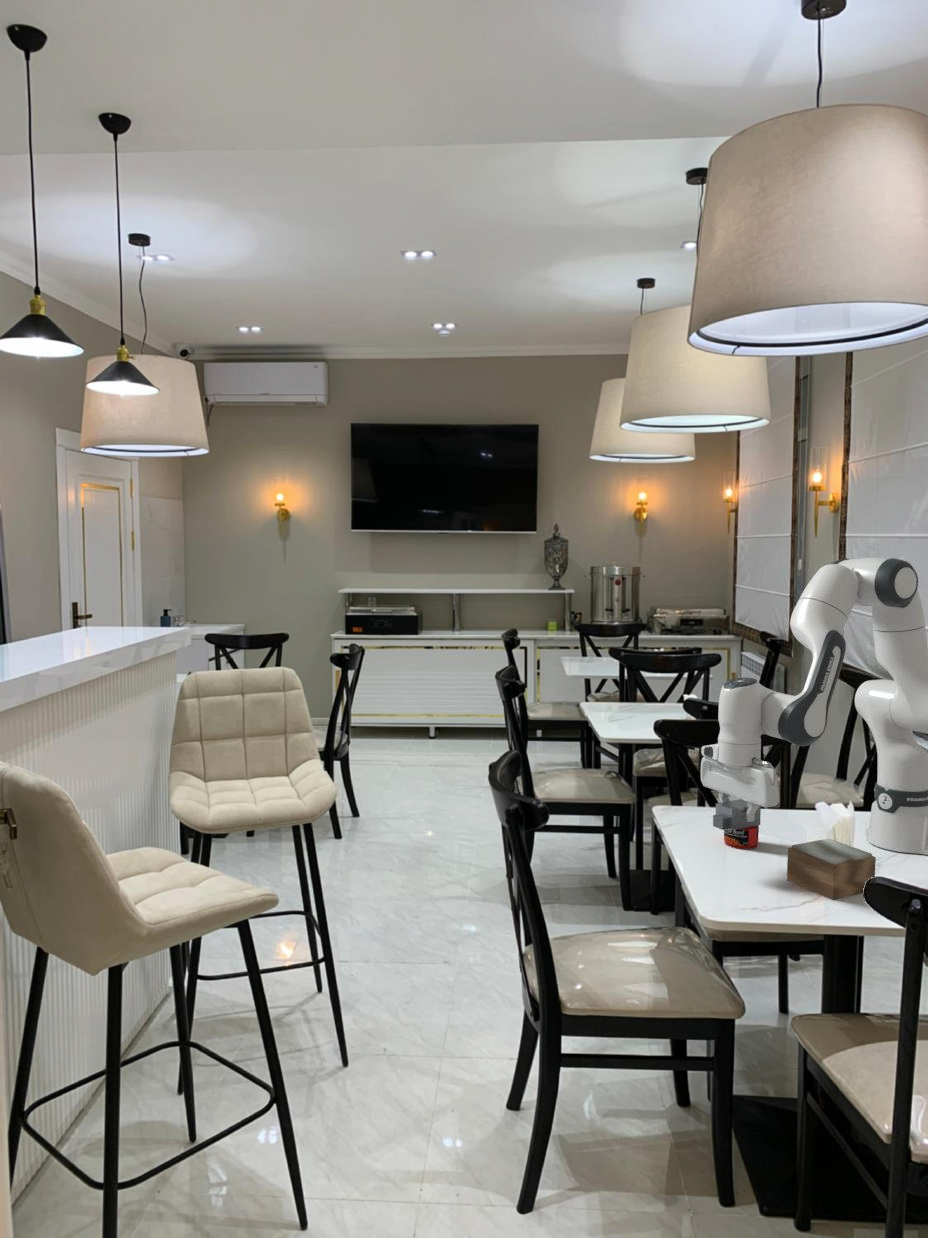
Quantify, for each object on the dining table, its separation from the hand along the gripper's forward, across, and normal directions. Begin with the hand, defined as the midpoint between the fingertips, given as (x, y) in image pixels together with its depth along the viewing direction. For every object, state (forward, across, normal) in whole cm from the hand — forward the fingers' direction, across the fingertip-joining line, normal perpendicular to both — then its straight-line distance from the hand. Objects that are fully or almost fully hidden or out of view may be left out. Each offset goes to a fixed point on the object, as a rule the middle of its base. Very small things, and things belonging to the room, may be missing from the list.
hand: (738, 816), depth 191 cm
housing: (+2, 0, 0) cm, 2 cm away
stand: (+12, -14, -12) cm, 22 cm away
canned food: (+13, +14, -14) cm, 24 cm away
